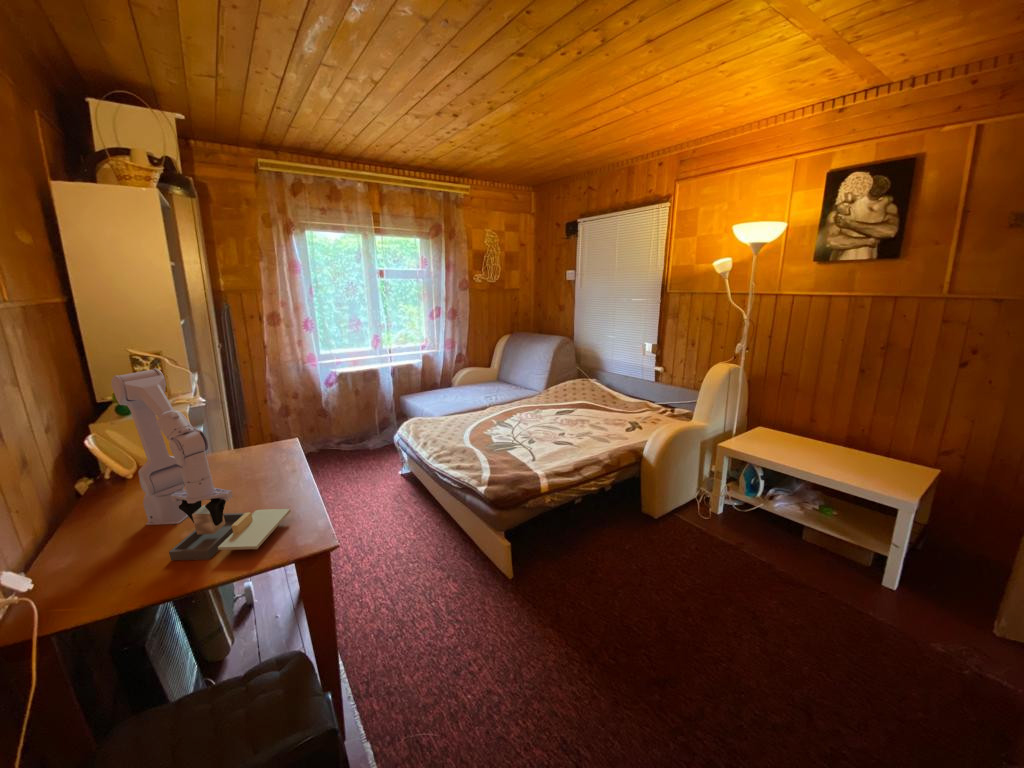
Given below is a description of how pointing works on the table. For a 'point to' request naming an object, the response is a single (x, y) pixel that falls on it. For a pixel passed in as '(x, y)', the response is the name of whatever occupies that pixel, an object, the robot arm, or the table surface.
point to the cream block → (205, 522)
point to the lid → (253, 529)
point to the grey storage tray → (204, 542)
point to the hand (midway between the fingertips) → (209, 523)
